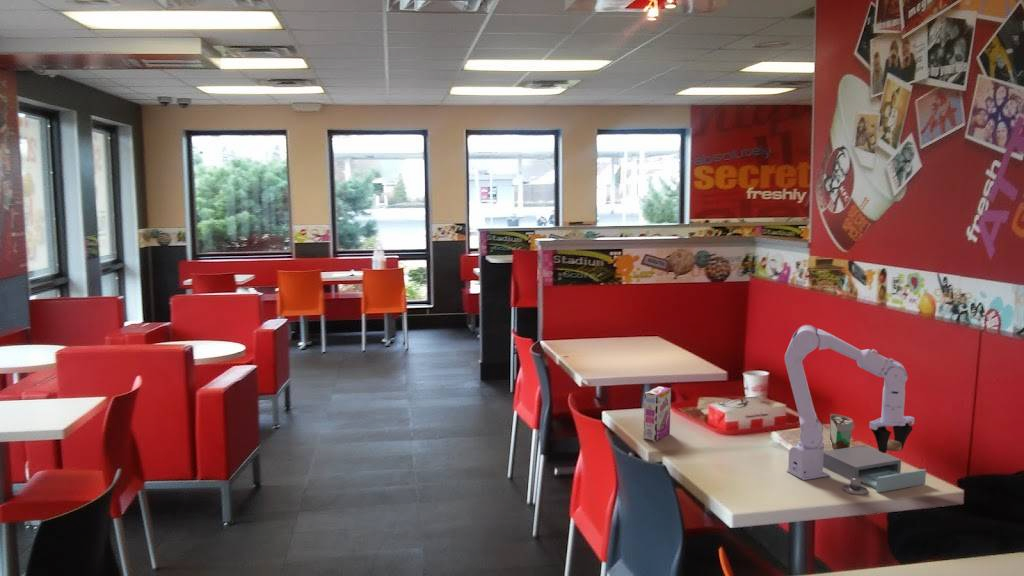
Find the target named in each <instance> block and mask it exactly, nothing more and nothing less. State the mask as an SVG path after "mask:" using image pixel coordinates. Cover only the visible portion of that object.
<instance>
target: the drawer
mask: <svg viewBox="0 0 1024 576" xmlns="http://www.w3.org/2000/svg"><path fill="white" fill-rule="evenodd" d="M926 475H927V469H925V468H923V469H915V470H910V471H905V472H900V473H899V472H897V471H895V470H892V469H890V468H888V467H885V466H883V467H874V468H868V469H862V470H859V472H858V478H860V479H861V483H862V484H866V485H867V486H869V487H872V488H874V489H875V491H876V492H877V493H878V492H879V493H884V492H888V491H889V492H891V491H894V490H900V489H906V488H912V487H916V486H921V485H926Z"/></svg>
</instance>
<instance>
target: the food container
mask: <svg viewBox="0 0 1024 576" xmlns="http://www.w3.org/2000/svg"><path fill="white" fill-rule="evenodd" d="M829 420H830V426H829V427H830V428H829V441H830V440H831V442H832V447H831V450H836V449H842V448H849V447H851V440H852V439H851V438H852V431H853V430H855V423H854V421H853V419H852V418H850V417H849V416H845V415H841V414H836V413H830V418H829Z"/></svg>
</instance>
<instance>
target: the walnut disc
mask: <svg viewBox="0 0 1024 576" xmlns="http://www.w3.org/2000/svg"><path fill="white" fill-rule="evenodd" d="M901 446H902V444H901V443H900V442H898V441H895V440H894V439H888V444H887V451H888V452H889V451H890V452H900V450H901ZM901 451H902V450H901Z"/></svg>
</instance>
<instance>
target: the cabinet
mask: <svg viewBox="0 0 1024 576" xmlns="http://www.w3.org/2000/svg"><path fill="white" fill-rule="evenodd" d="M883 466H885V467H888V468H890V469H892V470H895V471H897V472H899V473H901V469H902V467H901V466H902V459H901V458H898V457H896V456H893V455H891V454H889V453H887V452H886V453H882V452H880V451H879V450H878V448H877V449H876V448H874V447H872V446H869V445H867V444H862V445H856V446H850V447H849V448H842V449H836V450H833V449H831V450H826V451H825V450H824V459H823V468H825V469H827V470H829V471H831V472H833V473H836V474H837V475H839V476H842V477H844V478H846V479H848V480H850V481H851V477H858V472H859V471H860V470H865V469H871V468H877V467H883Z"/></svg>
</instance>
